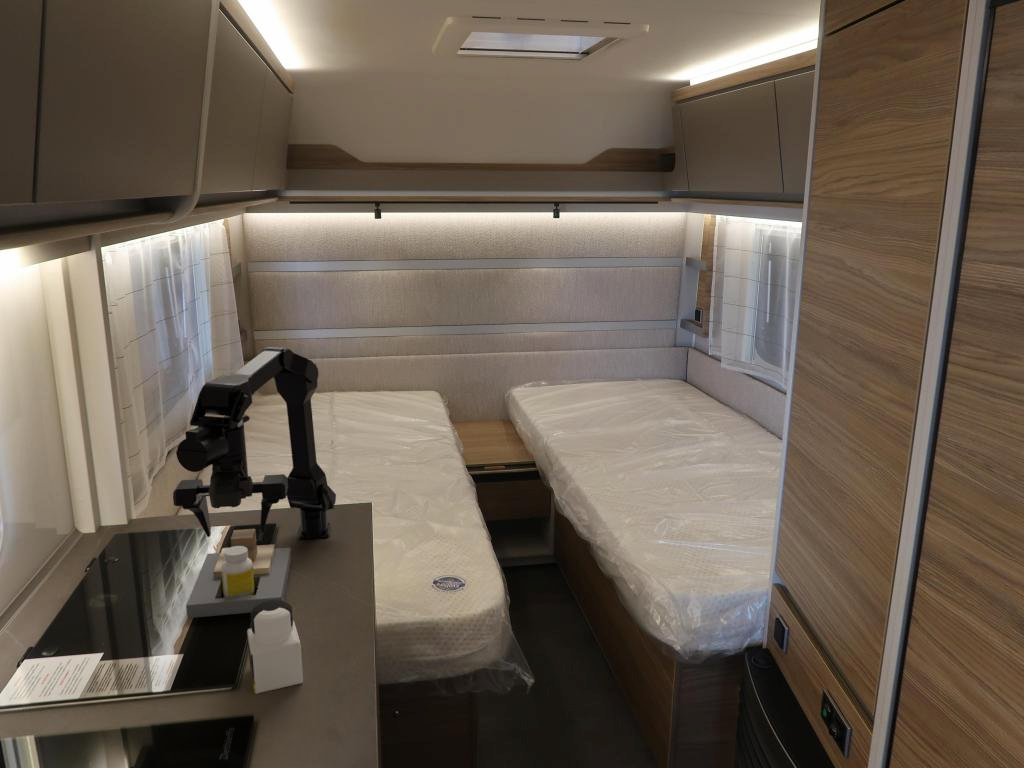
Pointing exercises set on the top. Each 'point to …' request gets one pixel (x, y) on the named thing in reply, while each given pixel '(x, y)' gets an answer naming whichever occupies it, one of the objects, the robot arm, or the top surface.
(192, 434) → the robot arm
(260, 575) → the board
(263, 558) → the lid
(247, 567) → the supplement bottle
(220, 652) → the top surface
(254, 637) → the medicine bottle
